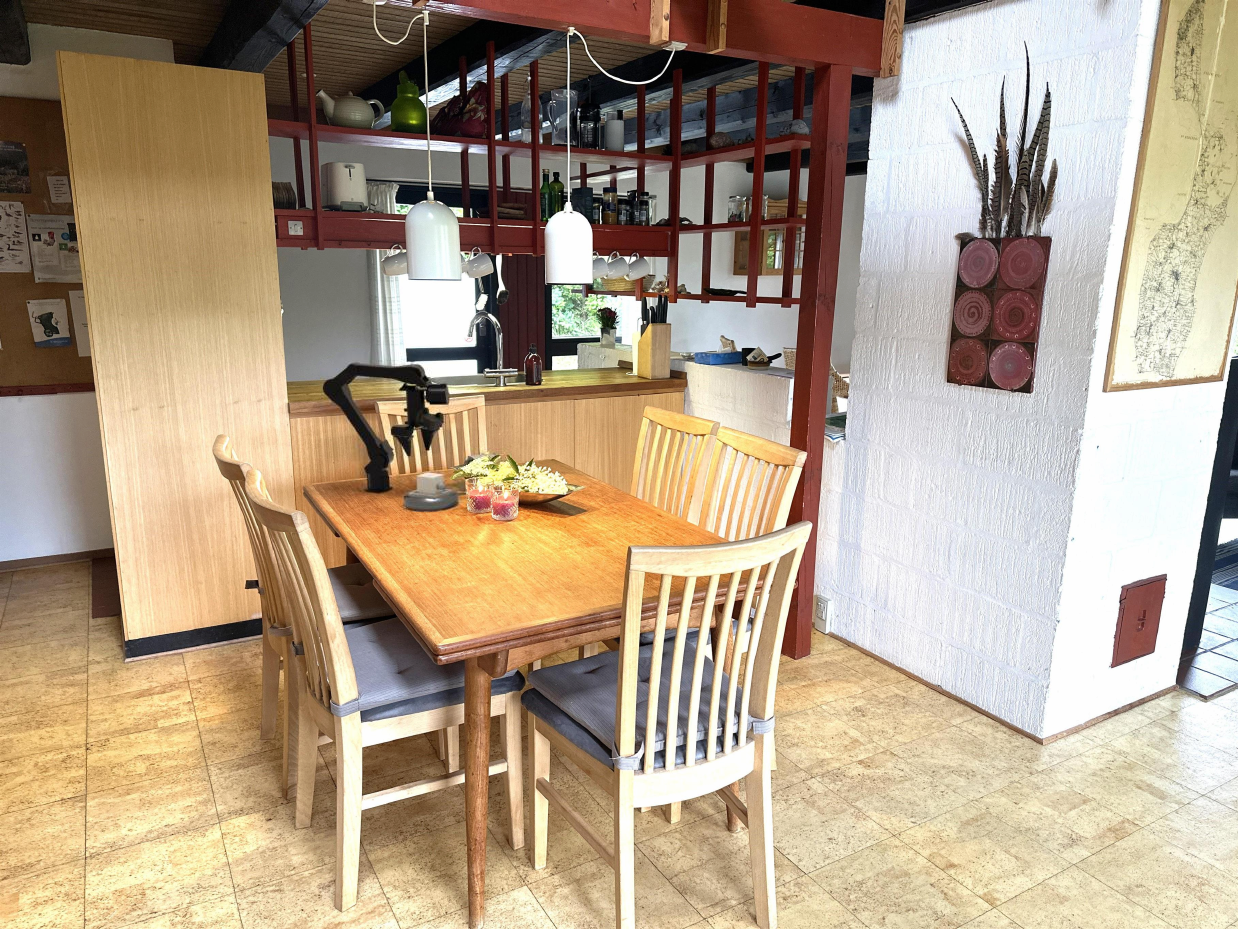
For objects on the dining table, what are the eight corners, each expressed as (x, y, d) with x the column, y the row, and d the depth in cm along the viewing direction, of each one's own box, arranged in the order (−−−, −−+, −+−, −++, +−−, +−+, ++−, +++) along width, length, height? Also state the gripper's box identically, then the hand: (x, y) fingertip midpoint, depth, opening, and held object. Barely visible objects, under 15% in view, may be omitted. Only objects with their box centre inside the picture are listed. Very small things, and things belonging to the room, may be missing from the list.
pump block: (417, 495, 255) (416, 475, 253) (428, 491, 259) (427, 472, 258) (439, 498, 251) (438, 478, 250) (449, 494, 256) (448, 475, 254)
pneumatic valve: (464, 489, 273) (463, 453, 271) (498, 485, 279) (497, 449, 276) (469, 493, 269) (468, 456, 266) (504, 489, 274) (503, 452, 271)
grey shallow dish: (392, 507, 253) (392, 494, 252) (427, 494, 267) (426, 482, 266) (436, 514, 246) (435, 500, 245) (469, 501, 260) (468, 488, 259)
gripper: (417, 411, 255) (419, 461, 258) (454, 402, 271) (456, 450, 275) (388, 408, 260) (391, 458, 263) (426, 400, 276) (429, 447, 279)
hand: (418, 453), depth 270 cm, fingers open, 9 cm apart
